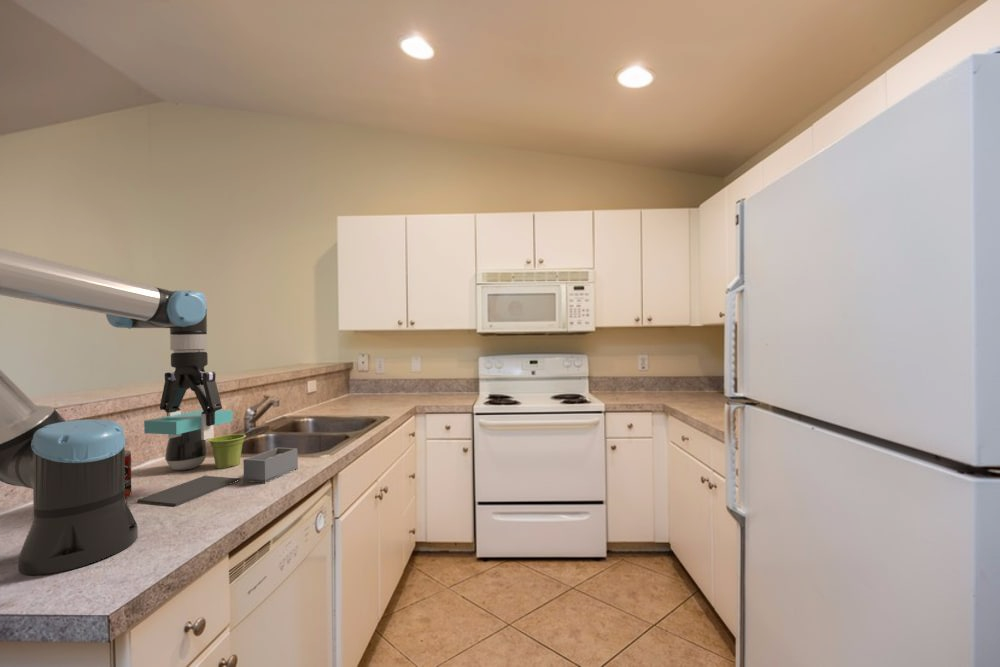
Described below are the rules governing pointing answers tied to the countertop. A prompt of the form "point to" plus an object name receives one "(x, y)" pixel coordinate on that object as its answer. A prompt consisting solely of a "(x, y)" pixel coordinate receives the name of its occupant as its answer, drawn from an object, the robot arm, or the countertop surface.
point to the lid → (183, 422)
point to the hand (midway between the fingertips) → (191, 437)
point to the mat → (187, 491)
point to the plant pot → (227, 449)
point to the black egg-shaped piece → (186, 450)
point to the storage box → (270, 464)
